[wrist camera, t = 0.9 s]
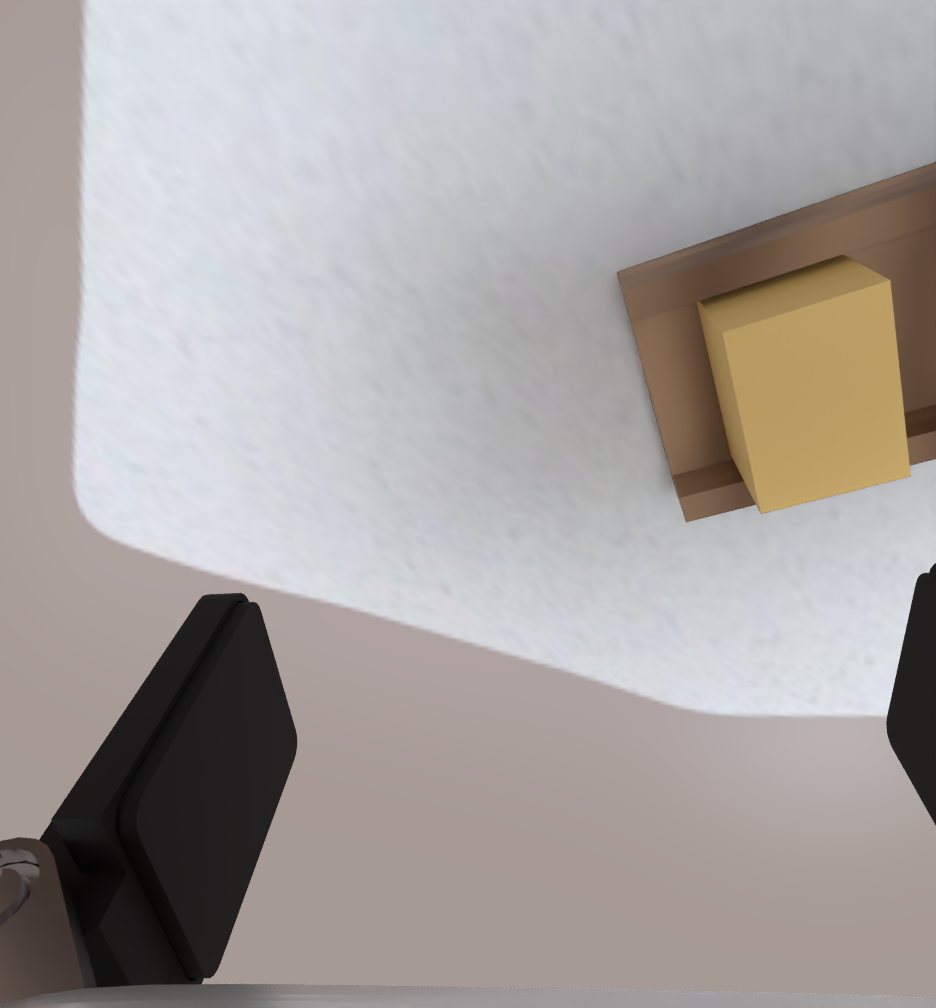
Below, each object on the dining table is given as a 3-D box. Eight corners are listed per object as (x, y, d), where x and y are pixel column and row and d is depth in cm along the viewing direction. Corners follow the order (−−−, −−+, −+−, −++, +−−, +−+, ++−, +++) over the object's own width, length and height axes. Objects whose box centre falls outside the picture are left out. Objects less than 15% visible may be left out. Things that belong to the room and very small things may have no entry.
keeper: (834, 249, 27) (890, 280, 22) (857, 420, 30) (910, 476, 25) (695, 295, 28) (722, 332, 24) (730, 454, 31) (760, 513, 27)
